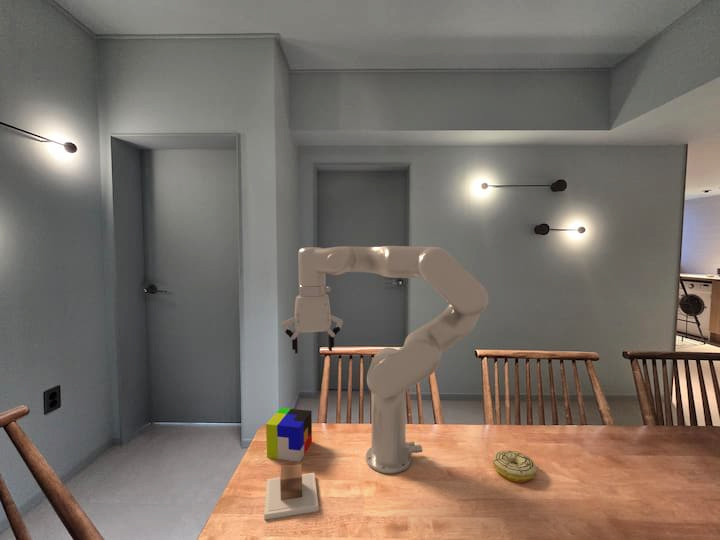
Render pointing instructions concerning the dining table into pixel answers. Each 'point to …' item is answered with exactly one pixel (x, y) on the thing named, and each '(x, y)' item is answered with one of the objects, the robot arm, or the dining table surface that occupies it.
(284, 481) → the walnut cube
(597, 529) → the dining table surface
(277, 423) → the puzzle toy
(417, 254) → the robot arm
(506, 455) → the decorated donut
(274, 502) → the plate
